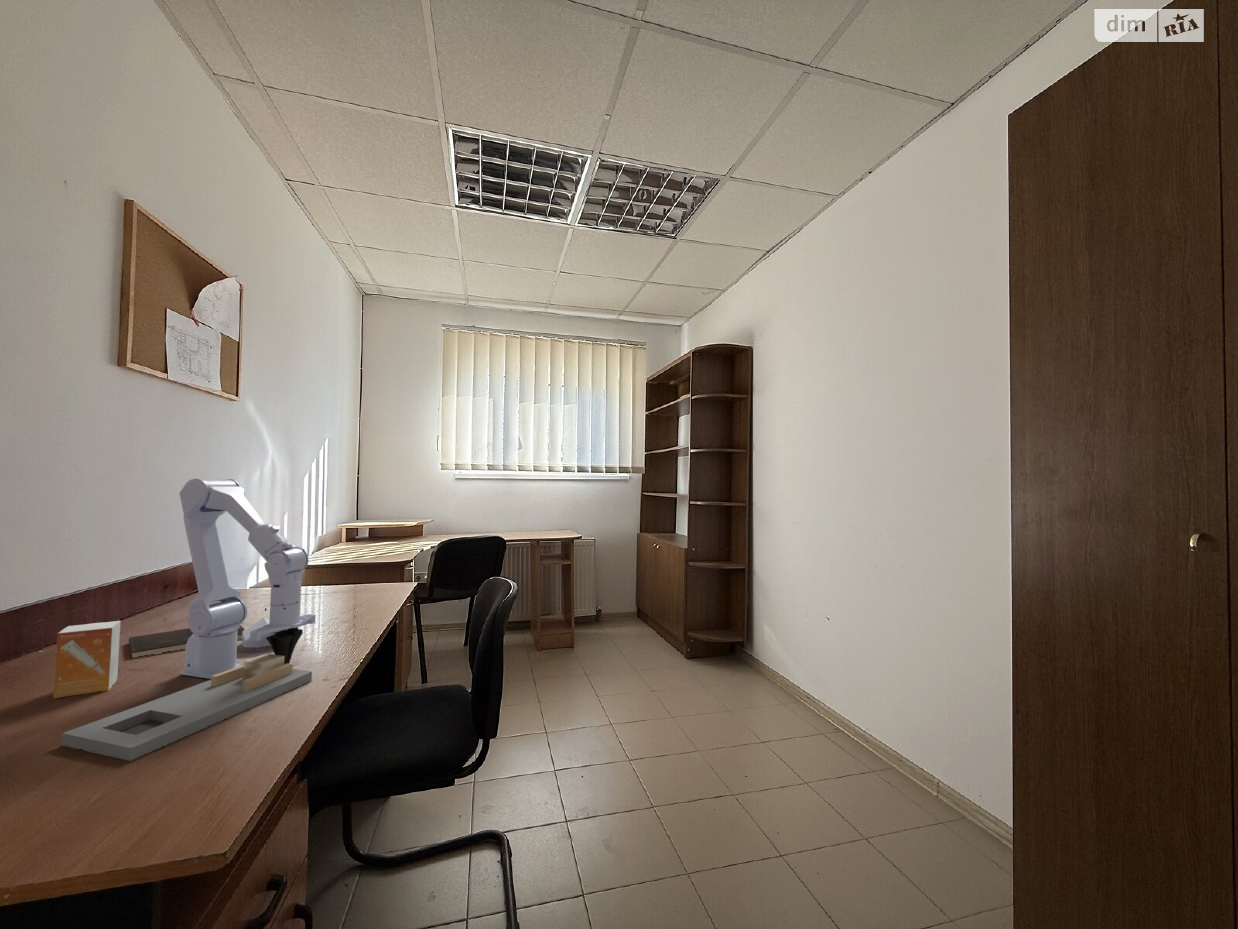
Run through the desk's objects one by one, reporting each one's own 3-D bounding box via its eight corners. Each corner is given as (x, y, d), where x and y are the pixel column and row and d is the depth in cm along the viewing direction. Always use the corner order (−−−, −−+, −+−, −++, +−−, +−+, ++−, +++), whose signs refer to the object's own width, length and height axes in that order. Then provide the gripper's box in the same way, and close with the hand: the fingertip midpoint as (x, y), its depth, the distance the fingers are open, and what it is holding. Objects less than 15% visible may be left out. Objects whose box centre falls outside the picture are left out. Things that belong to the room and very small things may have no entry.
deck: (61, 745, 82) (62, 720, 82) (255, 672, 114) (255, 655, 114) (130, 761, 78) (131, 735, 78) (311, 681, 110) (312, 662, 110)
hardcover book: (247, 640, 138) (247, 632, 138) (130, 661, 122) (131, 651, 122) (236, 628, 149) (236, 620, 149) (128, 645, 133) (128, 636, 133)
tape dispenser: (287, 647, 132) (280, 635, 142) (288, 621, 132) (281, 611, 142) (244, 654, 126) (240, 641, 136) (245, 627, 126) (241, 616, 136)
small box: (52, 699, 99) (55, 633, 99) (64, 688, 104) (67, 625, 105) (109, 690, 103) (112, 627, 104) (118, 680, 109) (121, 619, 109)
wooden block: (243, 678, 106) (244, 661, 106) (265, 669, 111) (266, 653, 111) (262, 680, 104) (262, 663, 105) (283, 672, 109) (284, 656, 109)
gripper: (269, 612, 104) (267, 678, 104) (326, 597, 118) (324, 655, 118) (243, 609, 106) (240, 674, 106) (302, 594, 120) (300, 652, 120)
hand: (283, 664), depth 112 cm, fingers closed
